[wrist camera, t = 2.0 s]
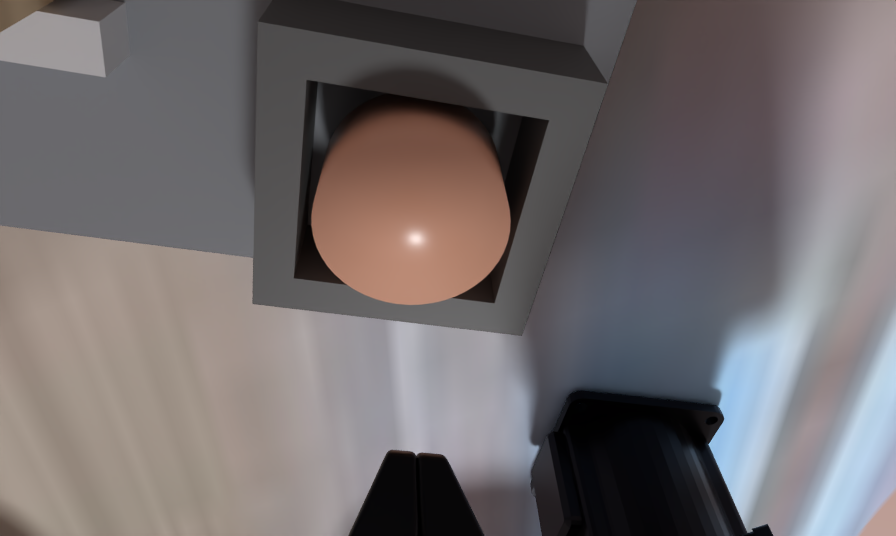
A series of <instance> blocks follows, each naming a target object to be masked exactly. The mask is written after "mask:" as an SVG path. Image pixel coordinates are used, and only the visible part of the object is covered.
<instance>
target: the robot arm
mask: <svg viewBox="0 0 896 536" xmlns="http://www.w3.org/2000/svg"><path fill="white" fill-rule="evenodd" d="M578 403H581V404H578ZM723 421H724V416H723V414H722V412H721V410H720V408H719V407H718V406H716V405H710V404H701V403H692V402H683V401H673V400H664V399H655V398H646V397H636V396H627V395H618V394H609V393H599V392H590V391H576V392H573V393H572V394H570V395H569V396H568V398H567V399H566V402H565V404H564V406H563V409H562V411H561V413H560V416H559V418H558V420H557V423H556V425H555V427H554V430H553V431H551V432H550V433H549V434H548V435H547V436H546V439H545V441H544V443H543V446H542V448H541V450H540V453H539V455H538V458H537V460H536V462H535V465H534V467H533V469H532V477H533V479H532V481H531V492H532V494H533V496H535V497H536V502H537V508H538V514H539V520H540V526H541V532H542V536H773V534H772V532H771V530H770V528H769V526H768V524H765V525H762V526H759V527H756V528H753V529H752V530H753V532H750V533H747V531H746V528H745V526H744V524H743V522H742V519H741V517H740V515H739V513H738V510H737V508H736V506H735V503H734V501H733V499H732V497H731V494H730V492H729V490H728V488H727V485H726V483H725V481H724V479H723V476H722V474H721V472H720V470H719V467H718V465H717V463H716V460H715V458H714V456H713V454H712V451H711V449H710V447H709V445H708V444H709V443H710V441H711V440H712V438H713V437H714V435H715V433H716V432H717V430H718V429H719V427H720V426H721V424H722V423H723ZM349 536H484V534H483V532H482V530H481V527H480V525H479V523H478V521H477V519H476V517H475V515H474V513H473V511H472V509H471V507H470V505H469V503H468V501H467V499H466V497H465V495H464V493H463V491H462V489H461V486H460V484H459V482H458V480H457V478H456V476H455V474H454V472H453V470H452V468H451V466H450V464H449V462H448V460H447V459H446V457H445V456H443V455H441V454H432V453H419V454H417V456H416V455H415V453H413V452H410V451H399V450H390V451H388V452H387V454H386V456H385V458H384V460H383V462H382V464H381V466H380V469H379V471H378V473H377V475H376V477H375V479H374V482H373V484H372V486H371V488H370V490H369V492H368V495H367V497H366V499H365V501H364V503H363V505H362V508H361V510H360V512H359V514H358V516H357V518H356V521H355V523H354V525H353V527H352V529H351V531H350V533H349Z"/></svg>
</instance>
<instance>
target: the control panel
mask: <svg viewBox="0 0 896 536" xmlns="http://www.w3.org/2000/svg"><path fill="white" fill-rule="evenodd" d="M636 2H637V0H54V1H53V2H51V3H49V4H48V5H46V6H44V7H43V8H41V9H39V10H37V11H36V12H34V13H32V14H31V15H29V16H27V17H26V18H24V19H22V20H20V21H19V22H17V23H15V24H14V25H12V26H10V27H9V28H7V29H5V30H3V31H2V32H0V225H2V226H9V227H17V228H25V229H33V230H41V231H48V232H56V233H64V234H72V235H80V236H87V237H95V238H103V239H111V240H119V241H126V242H134V243H142V244H150V245H158V246H165V247H173V248H181V249H189V250H197V251H204V252H212V253H220V254H228V255H235V256H243V257H251V258H253V304H258V305H266V306H275V307H283V308H292V309H300V310H309V311H317V312H325V313H334V314H342V315H351V316H359V317H368V318H376V319H384V320H393V321H401V322H410V323H418V324H427V325H435V326H443V327H452V328H460V329H469V330H477V331H486V332H494V333H503V334H511V335H519V336H522V334H523V331H524V328H525V325H526V322H527V319H528V316H529V313H530V310H531V307H532V304H533V302H534V299H535V296H536V293H537V290H538V288H539V285H540V282H541V279H542V276H543V273H544V270H545V267H546V264H547V261H548V258H549V255H550V253H551V250H552V247H553V244H554V241H555V238H556V235H557V232H558V229H559V226H560V223H561V220H562V218H563V215H564V212H565V209H566V206H567V203H568V200H569V197H570V194H571V191H572V188H573V185H574V183H575V180H576V177H577V174H578V171H579V168H580V165H581V162H582V159H583V156H584V153H585V150H586V148H587V145H588V142H589V139H590V136H591V133H592V130H593V127H594V124H595V121H596V118H597V115H598V113H599V110H600V107H601V104H602V101H603V98H604V95H605V92H606V89H607V86H608V83H609V80H610V78H611V75H612V72H613V69H614V66H615V63H616V60H617V57H618V54H619V51H620V48H621V45H622V43H623V40H624V37H625V34H626V31H627V28H628V25H629V22H630V19H631V16H632V13H633V10H634V8H635V5H636ZM387 93H389V94H395V95H401V96H407V97H413V98H419V99H425V100H431V101H437V102H443V103H449V104H455V105H461V106H464V107H465V108H467V109H468V110H469V111H471V112H472V113H473V114H474V115H475V116H476V117H477V118H478V119H479V120H480V121H481V122H482V124H483V125H484V126H485V127H486V129H487V130H488V132H489V134H490V135H491V137H492V139H493V142H494V144H495V147H496V150H497V154H498V158H499V163H500V167H501V172H502V177H503V181H504V186H505V191H506V195H507V200H508V204H509V209H510V219H511V222H510V233H509V238H508V242H507V245H506V248H505V250H504V253H503V255H502V256H501V258H500V260H499V262H498V263H497V264H496V266H495V267H494V268H493V270H492V271H491V272H490V273H489V274H488V275H487V276H486V277H485V278H484V279H483V280H482V281H480V282H479V283H478V284H477V285H475V286H474V287H472V288H471V289H469V290H467V291H466V292H464V293H462V294H460V295H457V296H455V297H452V298H450V299H447V300H444V301H439V302H435V303H429V304H422V305H404V304H394V303H389V302H384V301H381V300H377V299H374V298H371V297H369V296H366V295H364V294H362V293H360V292H358V291H356V290H354V289H353V288H351V287H350V286H348V285H347V284H345V283H344V282H343V281H342V280H340V279H339V278H338V277H337V276H336V275H335V274H334V273H333V272H332V271H331V270H330V268H329V267H328V266H327V265H326V263H325V262H324V260H323V259H322V257H321V255H320V253H319V251H318V249H317V247H316V244H315V241H314V237H313V232H312V226H311V214H312V208H313V202H314V198H315V194H316V190H317V186H318V182H319V178H320V175H321V171H322V167H323V163H324V159H325V155H326V151H327V148H328V145H329V141H330V139H331V137H332V135H333V133H334V131H335V130H336V128H337V127H338V126H339V124H340V123H341V121H342V120H343V119H344V118H345V117H346V116H347V115H348V114H349V113H350V112H352V111H353V110H354V109H355V108H357V107H358V106H360V105H361V104H363V103H365V102H366V101H368V100H370V99H373V98H375V97H377V96H380V95H384V94H387Z"/></svg>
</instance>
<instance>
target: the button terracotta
mask: <svg viewBox="0 0 896 536" xmlns="http://www.w3.org/2000/svg"><path fill="white" fill-rule="evenodd" d="M510 222H511V219H510V209H509V204H508V200H507V195H506V191H505V186H504V181H503V177H502V172H501V167H500V163H499V158H498V154H497V150H496V147H495V144H494V142H493V139H492V137H491V135H490V134H489V132H488V130H487V129H486V127H485V126H484V125H483V124H482V122H481V121H480V120H479V119H478V118H477V117H476V116H475V115H474V114H473V113H472V112H471V111H469V110H468V109H467V108H465V107H464V106H461V105H455V104H449V103H443V102H437V101H431V100H425V99H419V98H413V97H407V96H401V95H395V94H389V93H387V94H384V95H380V96H377V97H375V98H373V99H370V100H368V101H366V102H365V103H363V104H361V105H360V106H358V107H357V108H355V109H354V110H353V111H352V112H350V113H349V114H348V115H347V116H346V117H345V118H344V119H343V120H342V121H341V123H340V124H339V126H338V127H337V128H336V130H335V131H334V133H333V135H332V137H331V139H330V141H329V145H328V148H327V151H326V155H325V159H324V163H323V167H322V171H321V175H320V178H319V182H318V186H317V190H316V194H315V198H314V202H313V208H312V214H311V226H312V232H313V237H314V241H315V244H316V247H317V249H318V251H319V253H320V255H321V257H322V259H323V260H324V262H325V263H326V265H327V266H328V267H329V268H330V270H331V271H332V272H333V273H334V274H335V275H336V276H337V277H338V278H339V279H340V280H342V281H343V282H344V283H345V284H347V285H348V286H350V287H351V288H353V289H354V290H356V291H358V292H360V293H362V294H364V295H366V296H369V297H371V298H374V299H377V300H381V301H384V302H389V303H394V304H404V305H422V304H429V303H435V302H439V301H444V300H447V299H450V298H452V297H455V296H457V295H460V294H462V293H464V292H466V291H467V290H469V289H471V288H472V287H474V286H475V285H477V284H478V283H479V282H480V281H482V280H483V279H484V278H485V277H486V276H487V275H488V274H489V273H490V272H491V271H492V270H493V268H494V267H495V266H496V264H497V263H498V262H499V260H500V258H501V256H502V255H503V253H504V250H505V248H506V245H507V242H508V238H509V233H510Z"/></svg>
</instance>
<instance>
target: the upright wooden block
mask: <svg viewBox="0 0 896 536" xmlns="http://www.w3.org/2000/svg"><path fill="white" fill-rule="evenodd" d="M53 1H54V0H0V32H2V31H3V30H5V29H7V28H9V27H10V26H12V25H14V24H15V23H17V22H19V21H20V20H22V19H24V18H26V17H27V16H29V15H31V14H32V13H34V12H36V11H37V10H39V9H41V8H43V7H44V6H46V5H48V4H49V3H51V2H53Z"/></svg>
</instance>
